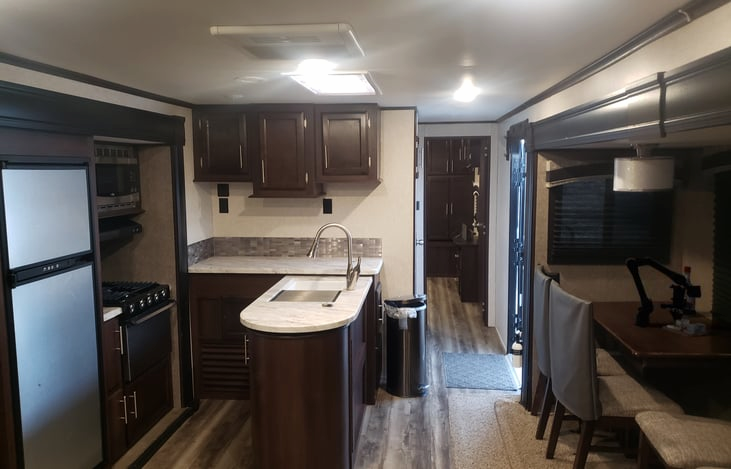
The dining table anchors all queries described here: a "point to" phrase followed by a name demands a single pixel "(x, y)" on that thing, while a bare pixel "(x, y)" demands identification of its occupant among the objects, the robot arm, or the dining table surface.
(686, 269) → the liquor
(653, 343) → the dining table surface
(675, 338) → the dining table surface
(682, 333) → the gauge base
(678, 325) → the push plate
